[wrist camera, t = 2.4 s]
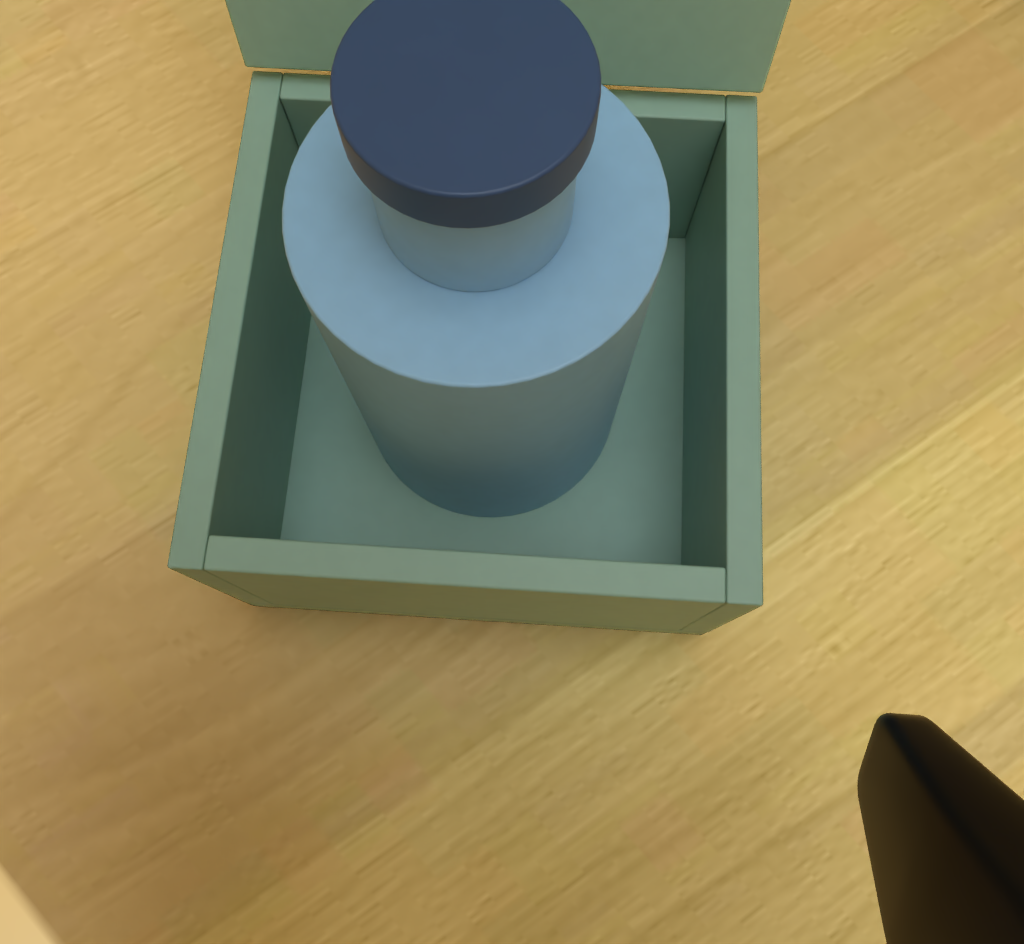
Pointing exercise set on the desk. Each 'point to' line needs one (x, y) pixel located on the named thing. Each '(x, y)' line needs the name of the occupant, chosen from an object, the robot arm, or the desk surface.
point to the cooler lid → (601, 9)
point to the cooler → (469, 539)
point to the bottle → (478, 244)
